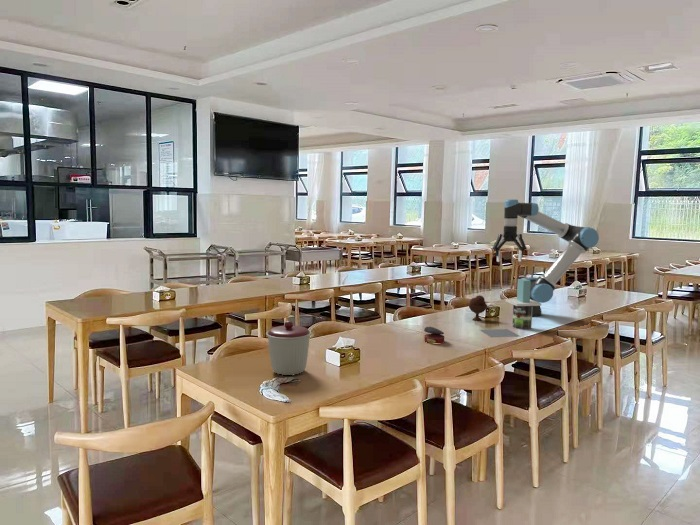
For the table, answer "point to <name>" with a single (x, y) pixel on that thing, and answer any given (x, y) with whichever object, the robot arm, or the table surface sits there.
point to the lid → (523, 295)
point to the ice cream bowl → (477, 306)
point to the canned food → (433, 335)
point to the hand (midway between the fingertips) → (509, 261)
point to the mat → (499, 333)
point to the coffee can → (522, 317)
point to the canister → (288, 348)
